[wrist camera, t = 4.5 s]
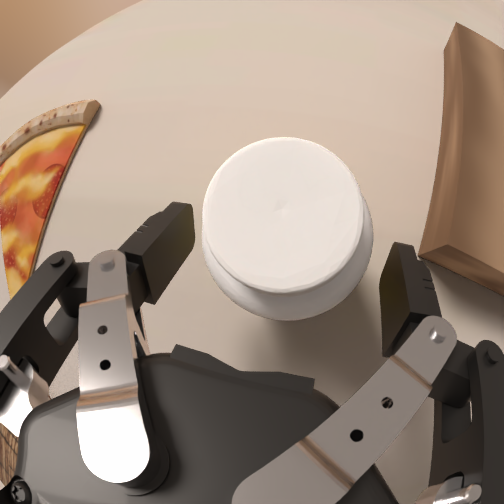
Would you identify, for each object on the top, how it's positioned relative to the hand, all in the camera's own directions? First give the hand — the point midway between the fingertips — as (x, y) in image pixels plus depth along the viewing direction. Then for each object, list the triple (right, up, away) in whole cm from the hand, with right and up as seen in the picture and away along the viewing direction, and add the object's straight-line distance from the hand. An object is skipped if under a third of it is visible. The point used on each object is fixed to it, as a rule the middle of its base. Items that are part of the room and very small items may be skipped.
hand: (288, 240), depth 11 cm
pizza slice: (-26, +5, +12) cm, 29 cm away
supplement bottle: (+1, -1, +6) cm, 6 cm away
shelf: (+19, +6, +4) cm, 20 cm away
